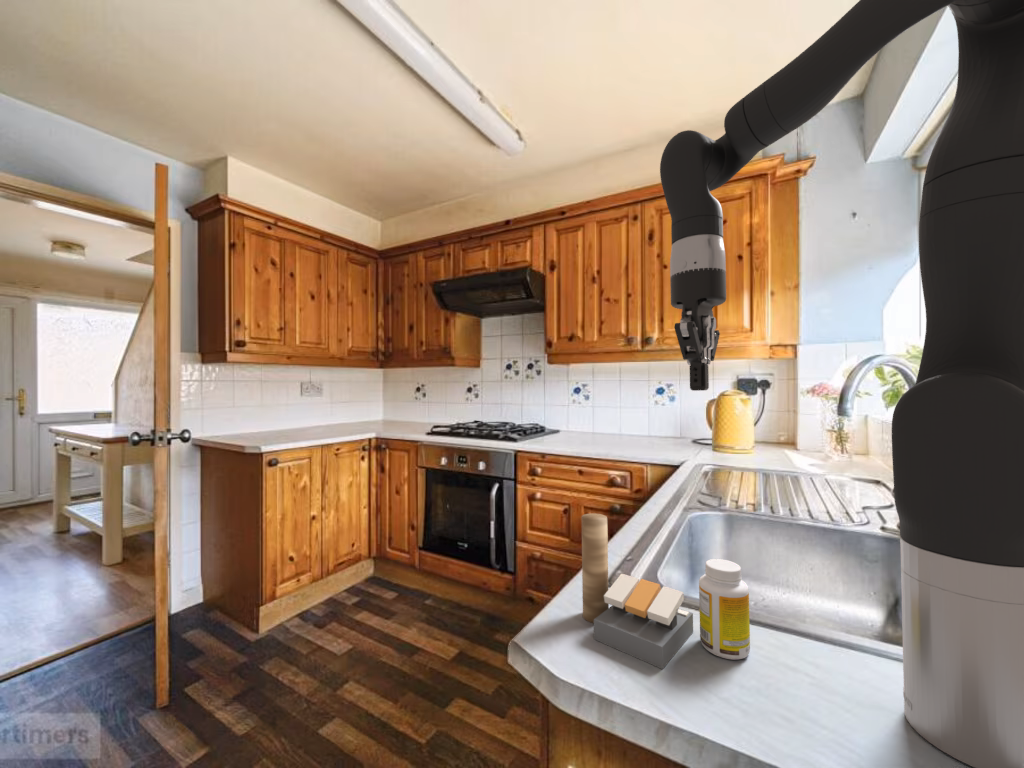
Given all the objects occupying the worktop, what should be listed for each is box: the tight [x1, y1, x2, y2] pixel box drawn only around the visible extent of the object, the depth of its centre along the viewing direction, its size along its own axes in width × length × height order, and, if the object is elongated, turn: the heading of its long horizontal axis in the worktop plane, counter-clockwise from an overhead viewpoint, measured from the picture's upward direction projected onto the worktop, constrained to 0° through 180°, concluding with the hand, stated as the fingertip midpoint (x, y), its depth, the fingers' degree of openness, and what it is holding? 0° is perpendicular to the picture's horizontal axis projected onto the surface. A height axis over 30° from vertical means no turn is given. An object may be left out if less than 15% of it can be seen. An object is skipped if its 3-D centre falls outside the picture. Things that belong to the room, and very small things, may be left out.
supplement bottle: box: [698, 558, 751, 661], centre depth 53 cm, size 6×6×10 cm
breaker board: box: [593, 605, 694, 670], centre depth 56 cm, size 9×10×4 cm
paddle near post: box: [604, 573, 640, 609], centre depth 58 cm, size 3×5×1 cm, turn 138°
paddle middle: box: [625, 578, 662, 618], centre depth 56 cm, size 3×5×1 cm, turn 138°
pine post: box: [581, 513, 610, 624], centre depth 60 cm, size 4×4×14 cm
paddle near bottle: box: [647, 585, 685, 626], centre depth 54 cm, size 3×5×2 cm, turn 138°
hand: (699, 390), depth 63 cm, fingers closed
